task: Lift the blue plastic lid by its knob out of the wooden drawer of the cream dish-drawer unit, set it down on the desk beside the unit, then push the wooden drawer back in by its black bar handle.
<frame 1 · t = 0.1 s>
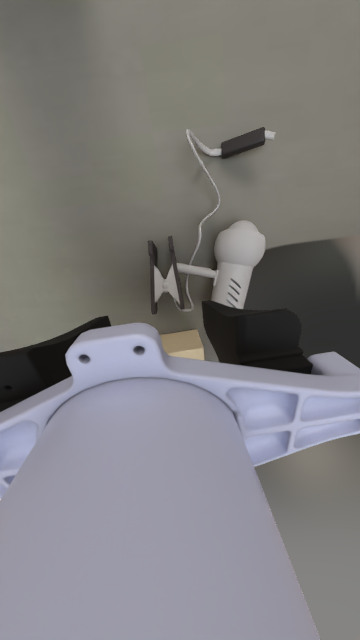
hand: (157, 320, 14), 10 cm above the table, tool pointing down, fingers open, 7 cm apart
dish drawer: (163, 372, 29), on the table
clip-on lamp: (204, 235, 21), on the table
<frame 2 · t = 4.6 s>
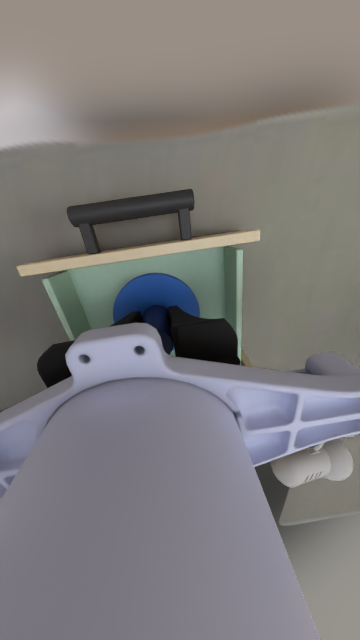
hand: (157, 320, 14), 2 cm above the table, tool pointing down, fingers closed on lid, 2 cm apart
wooden drawer: (156, 312, 14), point 2 cm above the table, slide at 9.0 cm, touching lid
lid: (157, 314, 15), point 1 cm above the table, touching gripper, wooden drawer
clip-on lamp: (325, 415, 24), on the table
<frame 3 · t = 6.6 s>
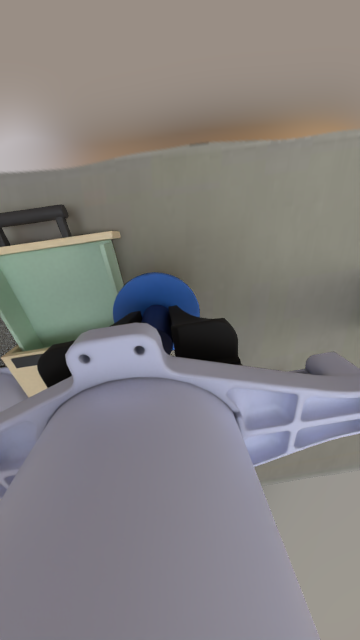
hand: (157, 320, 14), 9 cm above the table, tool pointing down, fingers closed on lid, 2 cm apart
wooden drawer: (62, 290, 19), point 2 cm above the table, slide at 9.0 cm
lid: (157, 314, 15), point 8 cm above the table, touching gripper
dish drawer: (101, 363, 25), on the table
when the fingers open (1 cm above the table, at t = 8.7 s): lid stays where it is, on the table.
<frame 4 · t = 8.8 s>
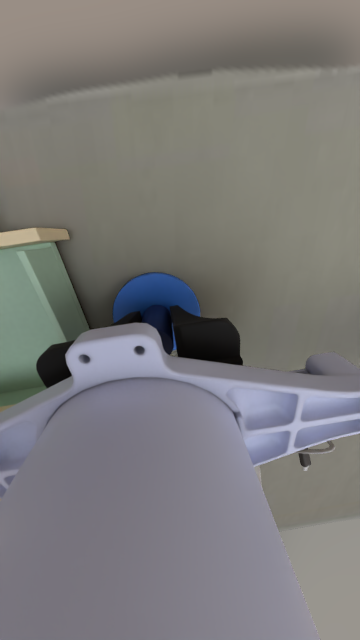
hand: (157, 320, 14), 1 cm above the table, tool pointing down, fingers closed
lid: (157, 314, 15), on the table
clip-on lamp: (243, 429, 22), on the table
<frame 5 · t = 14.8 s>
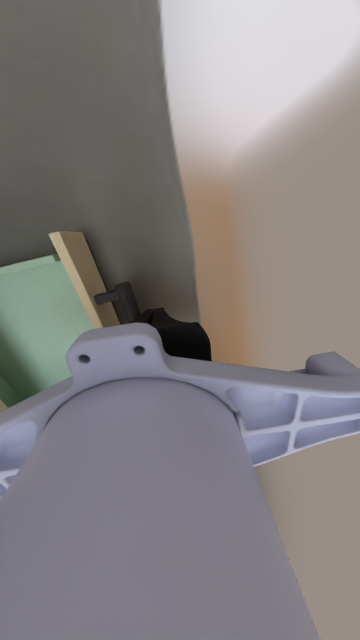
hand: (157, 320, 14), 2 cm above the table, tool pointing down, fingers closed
wooden drawer: (56, 343, 14), point 2 cm above the table, slide at 7.8 cm, touching gripper
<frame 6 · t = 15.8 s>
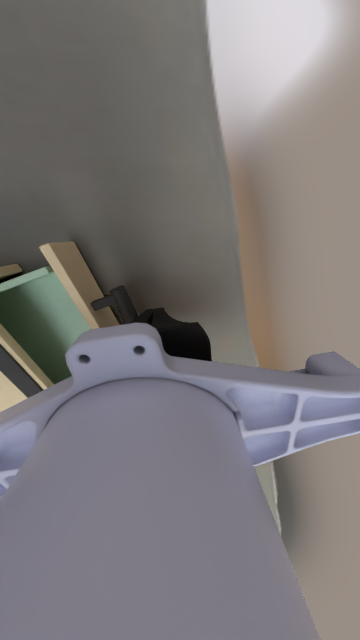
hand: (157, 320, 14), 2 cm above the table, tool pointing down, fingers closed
wooden drawer: (61, 352, 14), point 2 cm above the table, slide at 3.8 cm, touching gripper
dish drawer: (13, 360, 17), on the table
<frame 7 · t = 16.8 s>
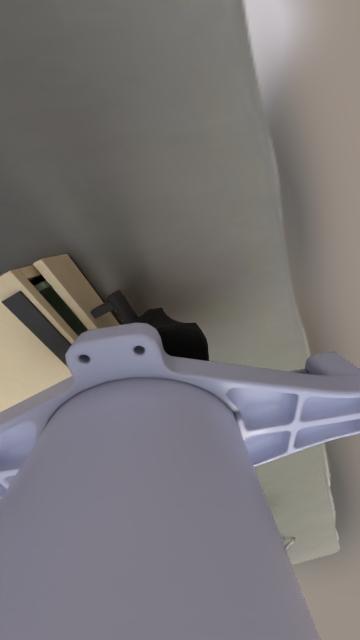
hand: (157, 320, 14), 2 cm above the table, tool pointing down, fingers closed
wooden drawer: (71, 362, 15), point 2 cm above the table, slide at -0.1 cm, touching gripper
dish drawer: (61, 359, 17), on the table
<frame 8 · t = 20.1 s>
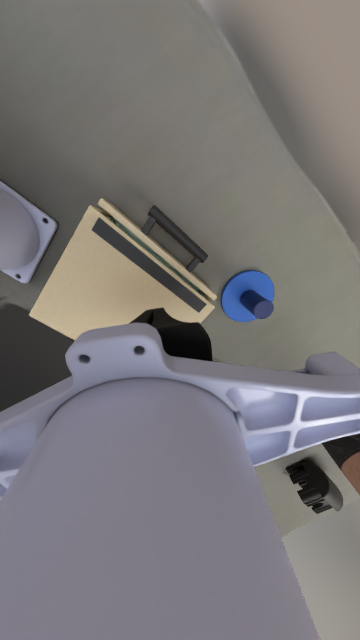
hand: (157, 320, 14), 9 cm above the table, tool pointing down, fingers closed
wooden drawer: (140, 286, 20), point 2 cm above the table, slide at 0.0 cm
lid: (246, 296, 24), on the table
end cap: (305, 468, 44), on the table
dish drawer: (132, 296, 22), on the table
travel mug: (320, 409, 35), on the table
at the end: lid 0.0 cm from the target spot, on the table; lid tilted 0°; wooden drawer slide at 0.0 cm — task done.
